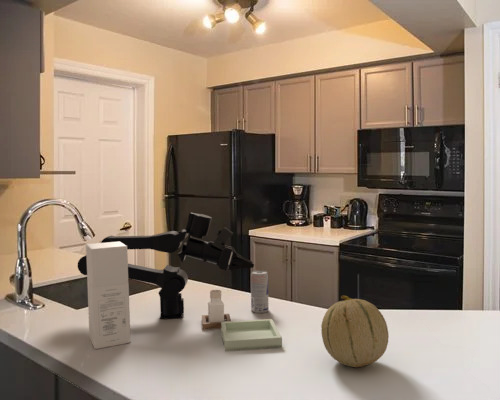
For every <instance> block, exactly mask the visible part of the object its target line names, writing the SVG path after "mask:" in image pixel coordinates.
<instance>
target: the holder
mask: <svg viewBox="0 0 500 400" xmlns="http://www.w3.org/2000/svg"><path fill="white" fill-rule="evenodd" d="M224 321H225V322H230V321H232V319H231V316H230V313H224ZM201 325H202V326H201V327H202V328H201V329H202V331H203V330H218V329H221V322H212V323H209V321H208V314H203V315H201Z"/></svg>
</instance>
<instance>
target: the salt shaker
mask: <svg viewBox="0 0 500 400" xmlns="http://www.w3.org/2000/svg"><path fill="white" fill-rule="evenodd" d="M209 299H210V301H208V302H207V311H208V312H207V313H208V314H207V315H208V321H207V322H208V323H212V322H225V320H224V314H225V304H224V301H222V290H221V289H211V290H210V291H209Z"/></svg>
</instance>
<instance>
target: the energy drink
mask: <svg viewBox="0 0 500 400" xmlns="http://www.w3.org/2000/svg"><path fill="white" fill-rule="evenodd" d="M250 305H251V306H250V309H251V312H253V313H257V314H263V313H267V312H268V311H269V274H268V271H266V270H253V271H251V273H250Z"/></svg>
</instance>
